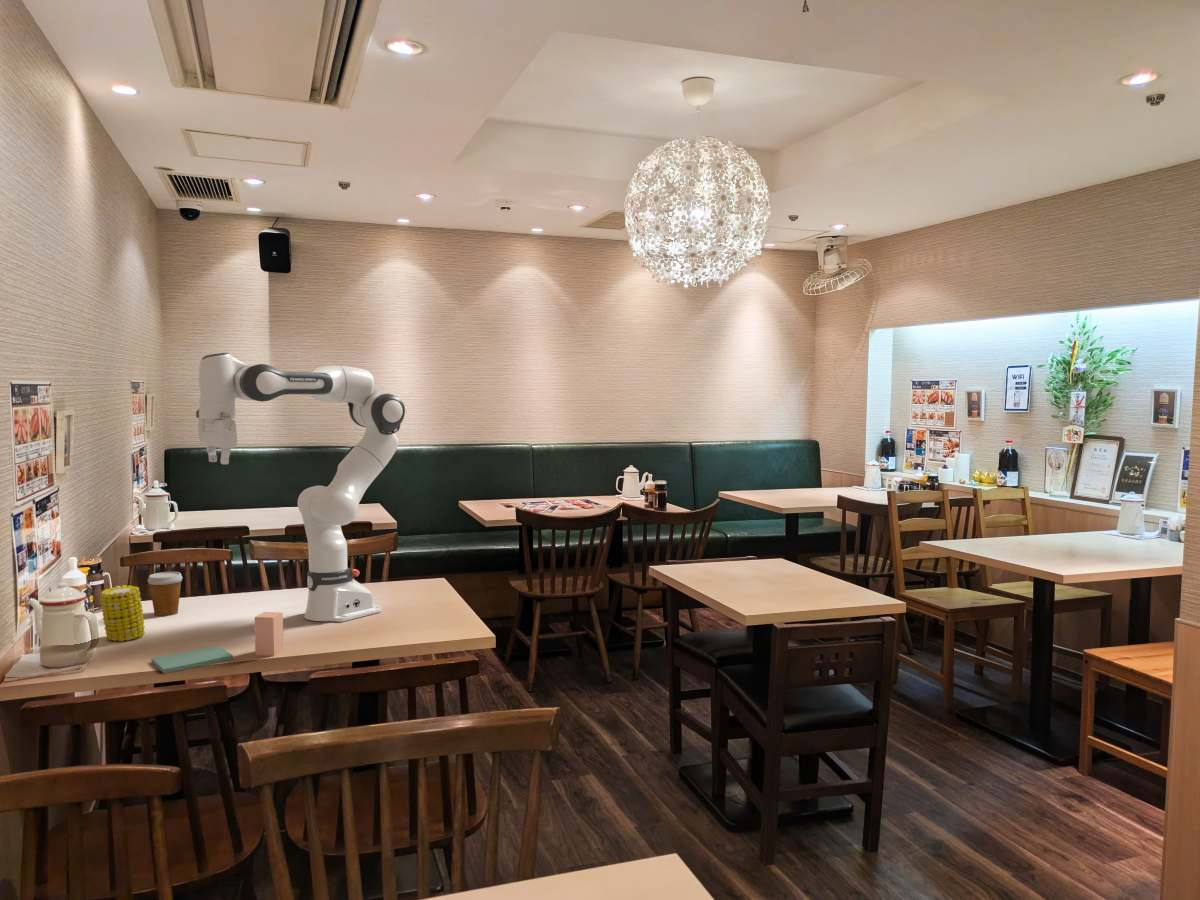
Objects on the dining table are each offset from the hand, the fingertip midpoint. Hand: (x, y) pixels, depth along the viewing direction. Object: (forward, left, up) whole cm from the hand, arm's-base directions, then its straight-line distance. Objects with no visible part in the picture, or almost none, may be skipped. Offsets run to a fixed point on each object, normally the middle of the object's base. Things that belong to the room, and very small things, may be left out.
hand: (218, 463), depth 228 cm
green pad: (+13, +18, -48) cm, 53 cm away
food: (+21, -15, -48) cm, 55 cm away
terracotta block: (-4, +24, -48) cm, 54 cm away
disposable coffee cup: (+5, -35, -48) cm, 60 cm away
